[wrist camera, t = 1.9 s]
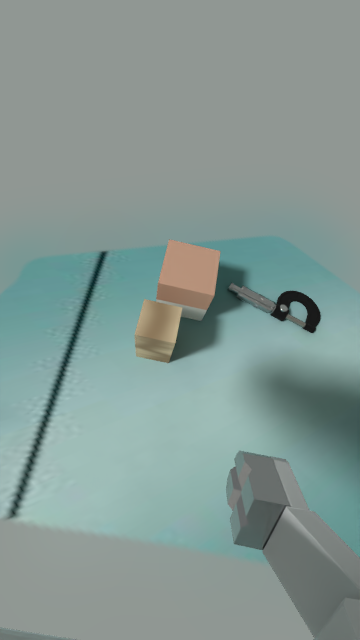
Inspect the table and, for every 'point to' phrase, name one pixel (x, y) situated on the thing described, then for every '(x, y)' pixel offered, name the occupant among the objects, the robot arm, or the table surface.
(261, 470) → the robot arm
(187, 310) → the off-white tower block
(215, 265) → the terracotta tower block
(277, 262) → the table surface
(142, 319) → the oak block
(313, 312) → the micrometer
